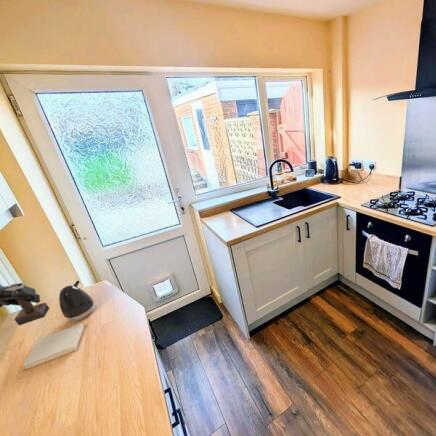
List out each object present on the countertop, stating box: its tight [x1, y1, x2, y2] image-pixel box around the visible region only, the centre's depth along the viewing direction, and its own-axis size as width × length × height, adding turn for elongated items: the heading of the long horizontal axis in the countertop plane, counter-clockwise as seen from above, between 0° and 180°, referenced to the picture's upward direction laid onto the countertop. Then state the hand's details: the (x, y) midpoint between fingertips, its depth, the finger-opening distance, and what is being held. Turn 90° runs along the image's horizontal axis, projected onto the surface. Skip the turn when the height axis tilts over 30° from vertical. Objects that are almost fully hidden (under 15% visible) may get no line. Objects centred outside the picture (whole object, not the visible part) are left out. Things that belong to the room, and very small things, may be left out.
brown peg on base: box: [8, 283, 50, 326], centre depth 85 cm, size 7×5×14 cm
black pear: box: [58, 280, 95, 321], centre depth 102 cm, size 10×10×15 cm
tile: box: [22, 323, 85, 370], centre depth 91 cm, size 14×12×2 cm
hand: (32, 300), depth 90 cm, fingers closed on brown peg on base, 3 cm apart
